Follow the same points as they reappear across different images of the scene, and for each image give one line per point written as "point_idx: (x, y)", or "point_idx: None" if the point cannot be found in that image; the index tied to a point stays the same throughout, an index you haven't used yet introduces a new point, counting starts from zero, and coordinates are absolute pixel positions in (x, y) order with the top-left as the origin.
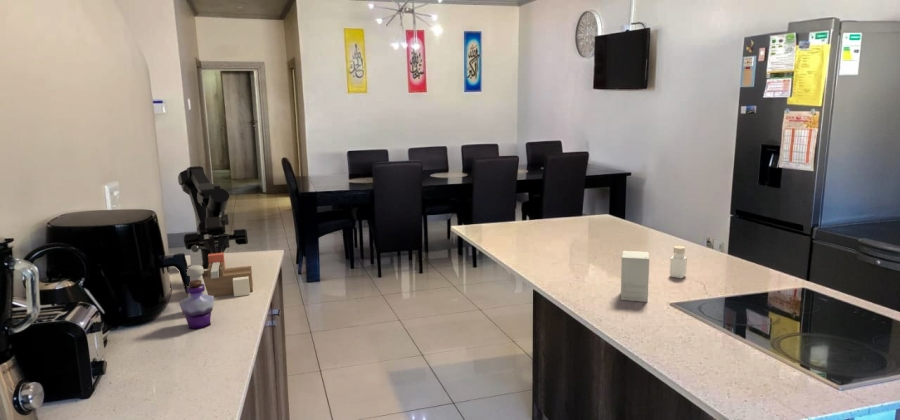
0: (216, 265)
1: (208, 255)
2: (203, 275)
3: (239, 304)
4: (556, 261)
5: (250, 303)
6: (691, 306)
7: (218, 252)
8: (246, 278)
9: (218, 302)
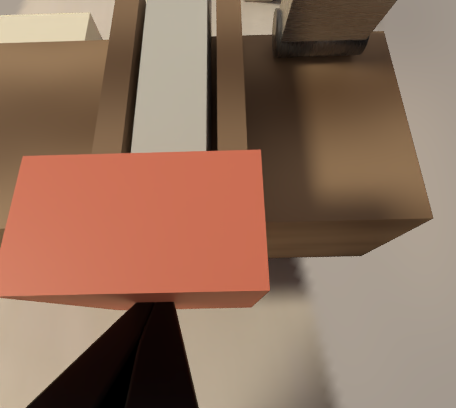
0: (164, 73)
1: (257, 180)
2: (278, 87)
3: (112, 6)
4: None
5: (71, 4)
6: None
7: (82, 395)
8: (6, 22)
9: None
